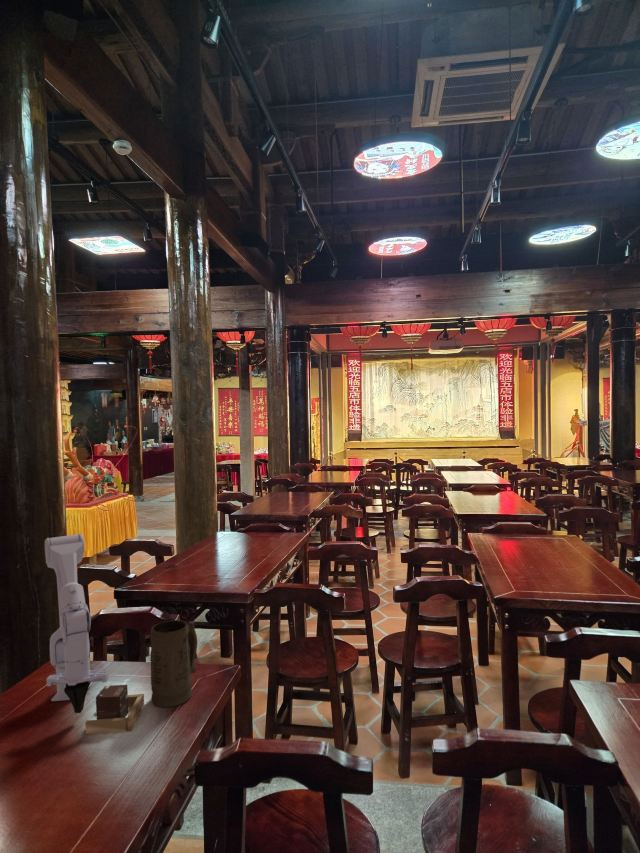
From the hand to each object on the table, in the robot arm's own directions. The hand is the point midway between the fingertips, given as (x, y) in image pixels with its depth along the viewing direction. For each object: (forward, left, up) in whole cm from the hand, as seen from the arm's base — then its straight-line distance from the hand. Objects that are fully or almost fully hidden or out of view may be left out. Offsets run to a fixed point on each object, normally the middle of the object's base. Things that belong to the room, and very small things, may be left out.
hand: (79, 711), depth 133 cm
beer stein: (-11, +22, -3) cm, 25 cm away
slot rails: (0, +9, -3) cm, 9 cm away
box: (0, +8, -3) cm, 9 cm away
